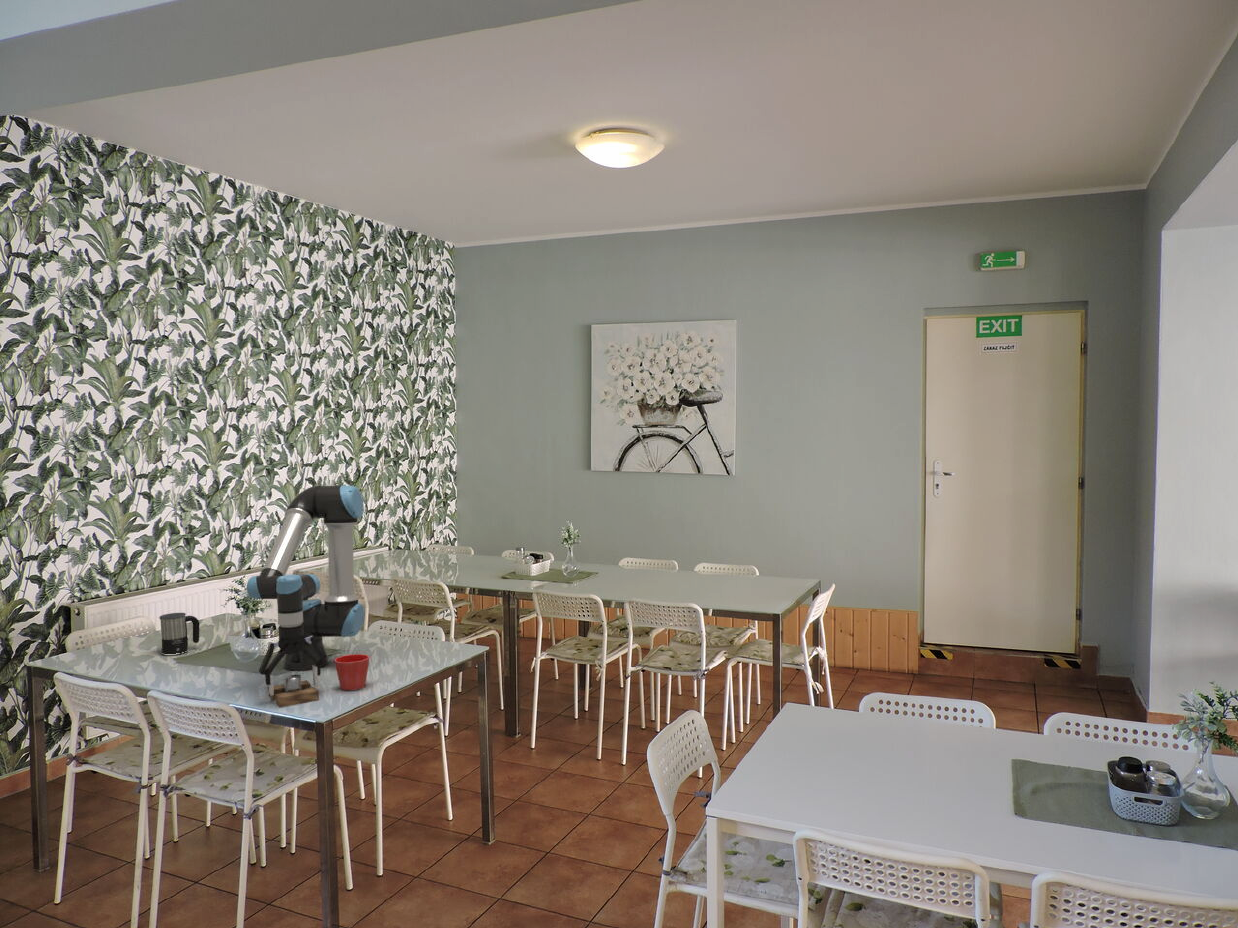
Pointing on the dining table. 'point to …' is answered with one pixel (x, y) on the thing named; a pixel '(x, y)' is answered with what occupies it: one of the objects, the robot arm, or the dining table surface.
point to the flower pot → (352, 671)
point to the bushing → (292, 683)
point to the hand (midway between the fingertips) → (293, 690)
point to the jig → (295, 695)
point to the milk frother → (177, 632)
